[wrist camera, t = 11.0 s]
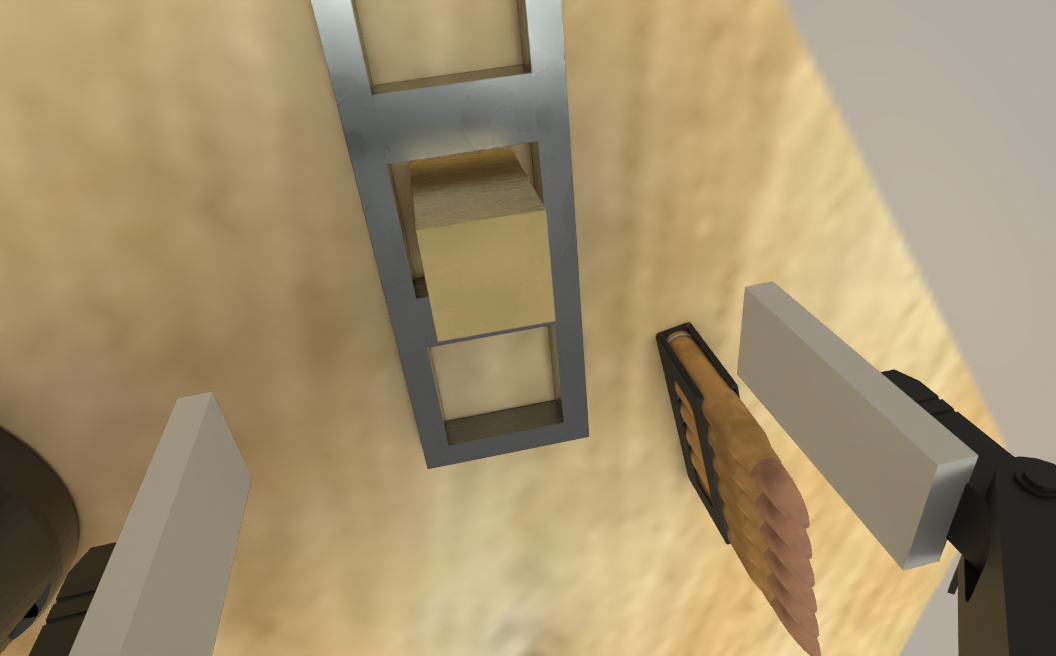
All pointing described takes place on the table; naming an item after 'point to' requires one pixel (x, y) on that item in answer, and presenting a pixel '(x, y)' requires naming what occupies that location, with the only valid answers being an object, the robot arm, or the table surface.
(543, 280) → the block
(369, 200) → the grey slotted plate
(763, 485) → the ammunition clip
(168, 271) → the table surface
